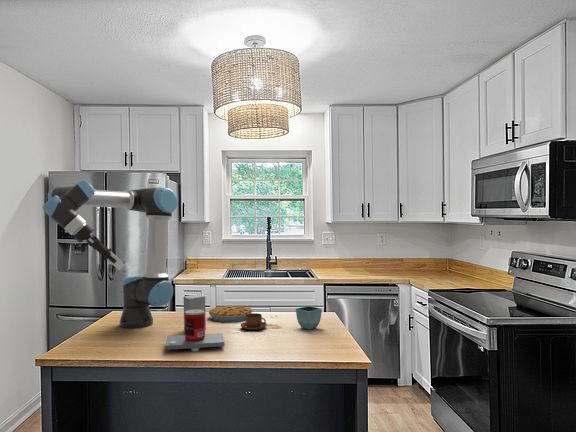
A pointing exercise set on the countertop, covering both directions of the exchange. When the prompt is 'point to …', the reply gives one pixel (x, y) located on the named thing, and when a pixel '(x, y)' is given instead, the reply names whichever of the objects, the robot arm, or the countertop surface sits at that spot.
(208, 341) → the plate
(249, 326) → the cup and saucer
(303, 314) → the flower pot
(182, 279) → the countertop surface
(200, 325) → the canned food
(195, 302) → the skincare box
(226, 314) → the pie
